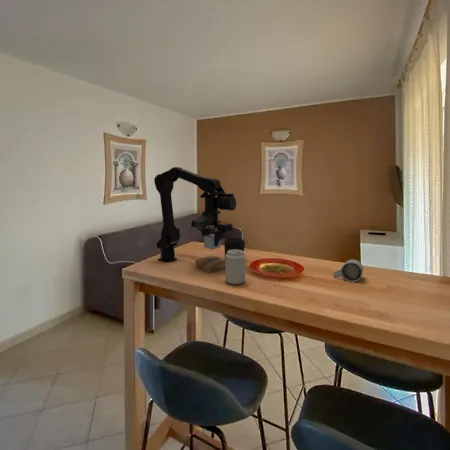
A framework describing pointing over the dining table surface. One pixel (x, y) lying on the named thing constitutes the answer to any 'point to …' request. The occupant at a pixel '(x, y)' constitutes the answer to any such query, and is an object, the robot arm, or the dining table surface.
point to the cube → (210, 242)
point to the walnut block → (210, 264)
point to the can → (235, 267)
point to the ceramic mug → (350, 271)
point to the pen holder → (233, 244)
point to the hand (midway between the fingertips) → (211, 245)
